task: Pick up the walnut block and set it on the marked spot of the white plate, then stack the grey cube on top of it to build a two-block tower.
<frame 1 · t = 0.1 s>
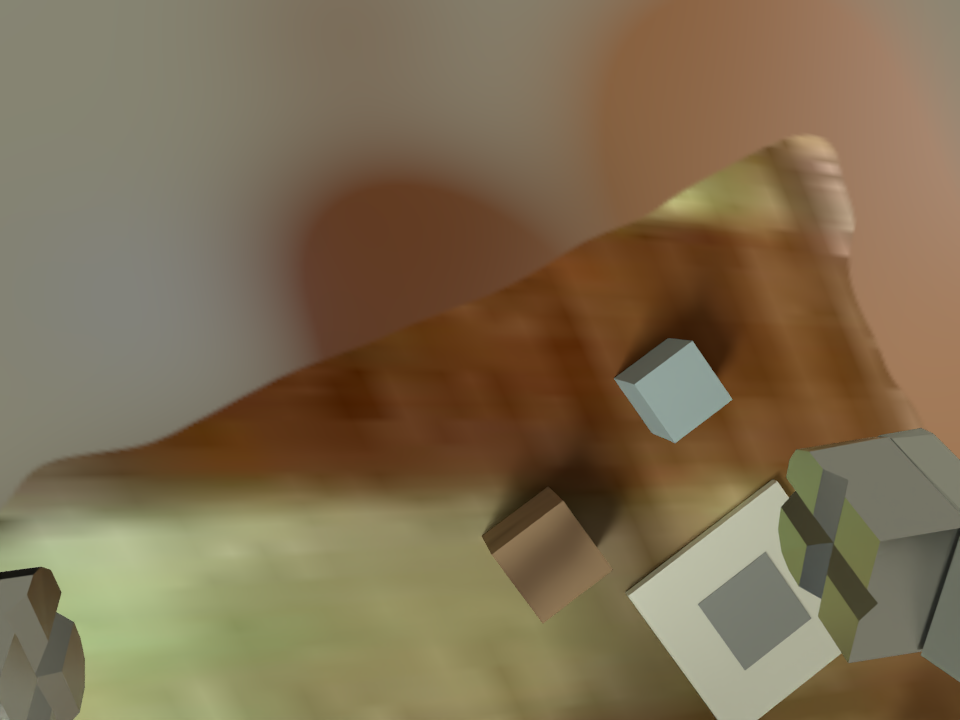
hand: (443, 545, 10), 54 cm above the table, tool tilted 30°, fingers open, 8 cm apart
grey cube: (659, 385, 67), on the table
walnut block: (538, 542, 66), on the table
plate: (750, 607, 69), on the table
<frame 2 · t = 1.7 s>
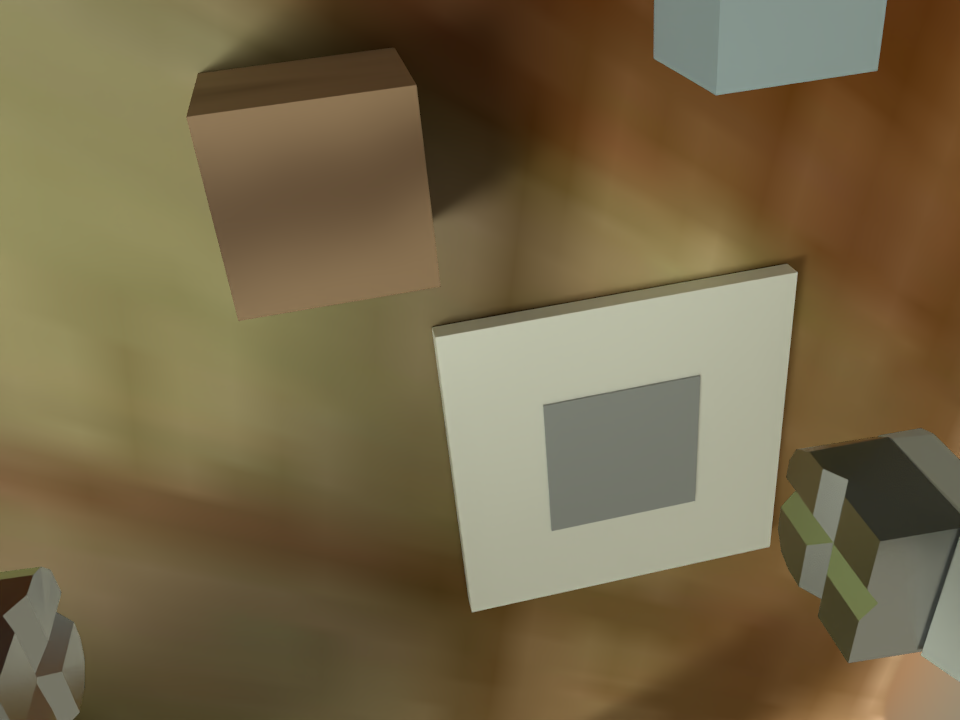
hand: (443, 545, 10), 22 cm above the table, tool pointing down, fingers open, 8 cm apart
walnut block: (314, 153, 30), on the table
plate: (616, 443, 38), on the table
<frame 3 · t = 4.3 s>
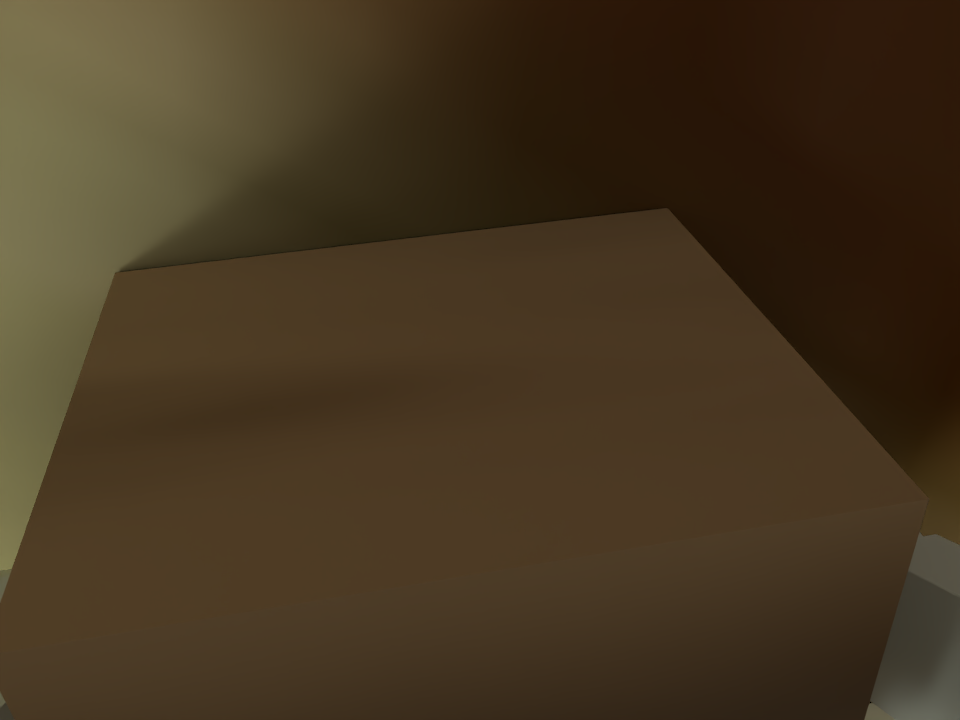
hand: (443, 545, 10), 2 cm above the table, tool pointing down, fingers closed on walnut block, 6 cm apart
walnut block: (423, 456, 11), on the table, touching gripper
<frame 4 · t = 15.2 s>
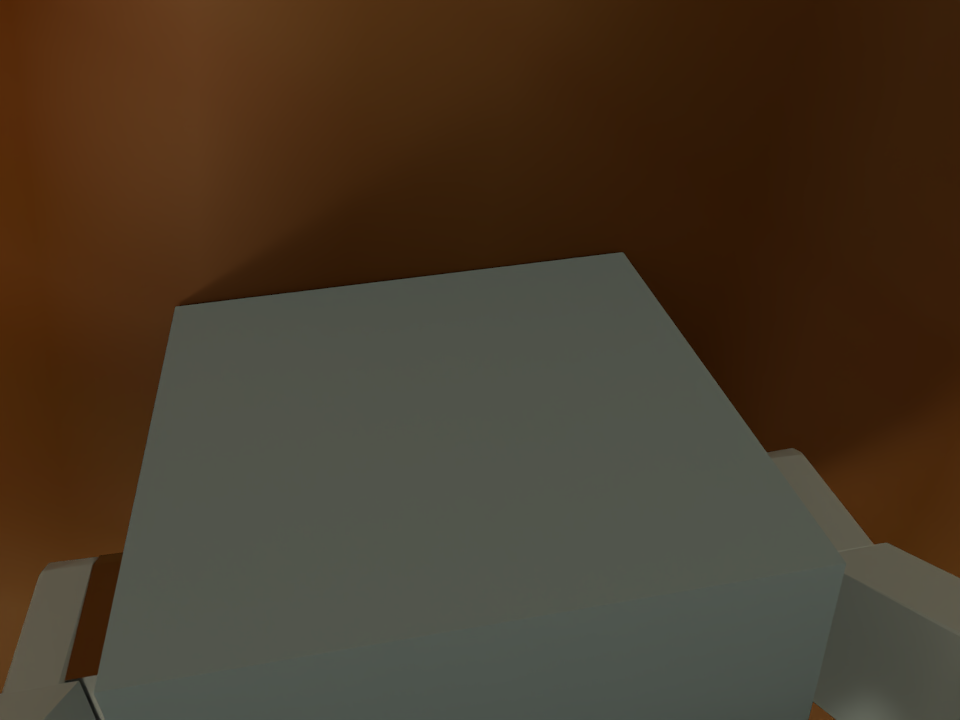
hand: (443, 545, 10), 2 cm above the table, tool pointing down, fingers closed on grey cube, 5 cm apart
grey cube: (423, 454, 11), on the table, touching gripper
when the fingers open (9 cm above the table, at t = 20.6 s): grey cube drops 1 cm, resting on walnut block.
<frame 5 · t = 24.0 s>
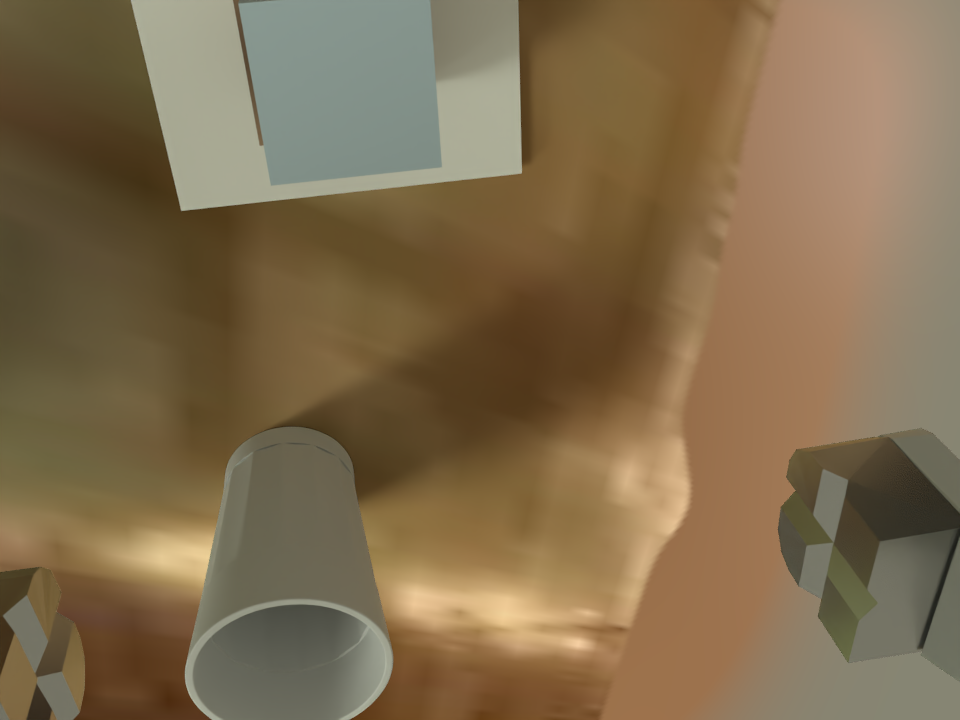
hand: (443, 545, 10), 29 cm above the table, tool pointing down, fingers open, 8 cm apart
grey cube: (338, 47, 29), point 6 cm above the table, touching walnut block
walnut block: (330, 13, 34), point 1 cm above the table, touching grey cube, plate
cup: (290, 475, 46), on the table
plate: (332, 9, 34), on the table
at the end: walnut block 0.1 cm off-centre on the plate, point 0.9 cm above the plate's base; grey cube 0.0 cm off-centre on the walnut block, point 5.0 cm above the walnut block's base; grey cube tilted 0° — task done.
